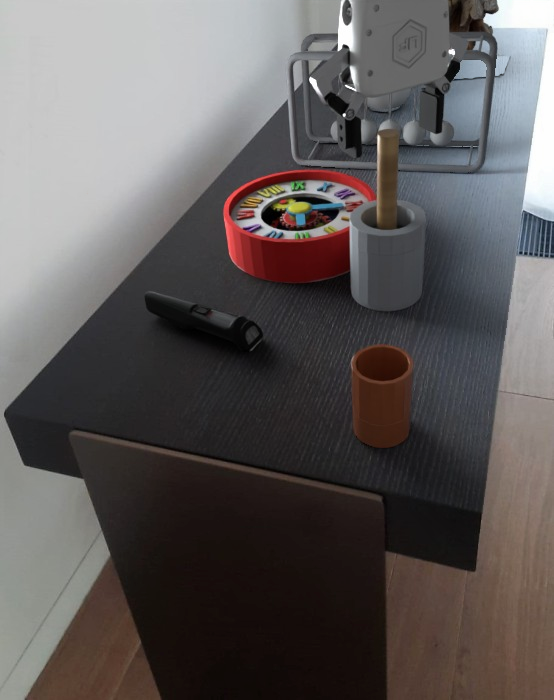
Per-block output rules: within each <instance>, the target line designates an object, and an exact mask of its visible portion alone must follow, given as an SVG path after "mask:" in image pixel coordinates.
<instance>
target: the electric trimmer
mask: <svg viewBox="0 0 554 700" xmlns="http://www.w3.org/2000/svg"><path fill="white" fill-rule="evenodd" d="M143 297H144V304H145V307H146V310H147V311H148V312H149V313H151V314H153V315H155V316H157V317H159V318H161V319H162V320H164V321H166V322H168V323H171V324H172V325H174V326H177V327H178V328H181V329H183V330H192V329H196V330H199V331H201V332H205V333H207V334H210V335H212V336H216V337H218V338H221V339H224V340H227V341H229V342H232V343H234V344H235V346H236V347H237V348H238V349H239V350H240V351H243V352H245V351H249V352H251V351H253V350H254V349H255V348H256V347H257V346H258V344H259V343H261V342H262V341H263V337H264V332H263V330H262V328H261V327H260V325H258V323H256V322H255V321H253V320H251V319H250V318H248V317H246V316H245V315H239V314H236V313H231V312H228V311H225V310H221V309H217V308H214V307H211V306H206V305H203V304H200V303H199V304H198V303H195V302H190V301H186V300H183V299H179V298H176V297H174V296H173V297H172V296H170V295H165V294H164V293H163V294H162V293H159V292H156V291H152V290H148V291H146V292H145V294H144V296H143Z"/></svg>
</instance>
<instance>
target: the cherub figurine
mask: <svg viewBox="0 0 554 700" xmlns="http://www.w3.org/2000/svg"><path fill="white" fill-rule="evenodd" d="M448 9H449V32H488V33H490V34H492V35H493V34H494V29H493V26H492V25H489V24H488V23H487V22H485V20H484V19H485V17H486V15H487V14H488V15H494V14H497V13H498V12H499V10H500V8H499V5H498V0H448ZM468 42H469V45H468V48H467V50H474V49H475V47H476V45H477V41H468Z"/></svg>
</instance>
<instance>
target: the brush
mask: <svg viewBox="0 0 554 700" xmlns="http://www.w3.org/2000/svg"><path fill="white" fill-rule="evenodd" d="M376 138H377V145H376V162H377V170H376V200H377V229H380V230H394V229H397V200H398V188H399V187H398V186H399V184H398V183H399V170H398V163H399V147H400V146H399V132H398V131H397V130H395V129H383V130H380V131H379V132H378V133H377V136H376Z"/></svg>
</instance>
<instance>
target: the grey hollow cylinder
mask: <svg viewBox="0 0 554 700" xmlns="http://www.w3.org/2000/svg"><path fill="white" fill-rule="evenodd" d="M349 225H350V271H349V272H350V293H351V296H352V299H353V300H354V301H355V302H356V303H357V304H358V305H360V306H362V307H364V308H366V309H369V310H373V311H378V312H395V311H401V310H404V309H407V308H409V307H412V306H413V305H415V304H416V303H417V302H418V301H419V300H420V299H421V297H422V293H423V284H424V283H423V281H424V266H425V265H424V263H425V247H426V246H425V245H426V243H425V242H426V226H427V214H426V212H425V211H424V209H423V208H422V207H420V206H419V205H418V204H416V203H413V202H410V201H407V200H401V199H397V229H394V230H380V229H377V199H376V200H375V201H371V202H367V203H364V204H362V205H360V206H359V207H357V208H355V209H354V210H353V211H352V213H351V214H350V219H349Z"/></svg>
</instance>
